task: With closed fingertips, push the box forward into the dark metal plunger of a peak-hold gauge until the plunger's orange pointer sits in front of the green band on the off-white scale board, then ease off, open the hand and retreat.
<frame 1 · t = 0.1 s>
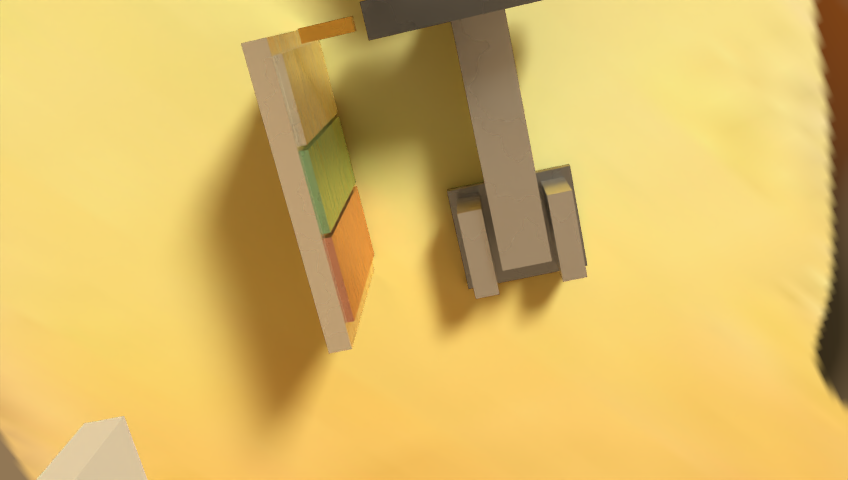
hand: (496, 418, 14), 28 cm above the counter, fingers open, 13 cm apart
plunger: (471, 138, 35), point 5 cm above the counter, slide at 0.0 cm
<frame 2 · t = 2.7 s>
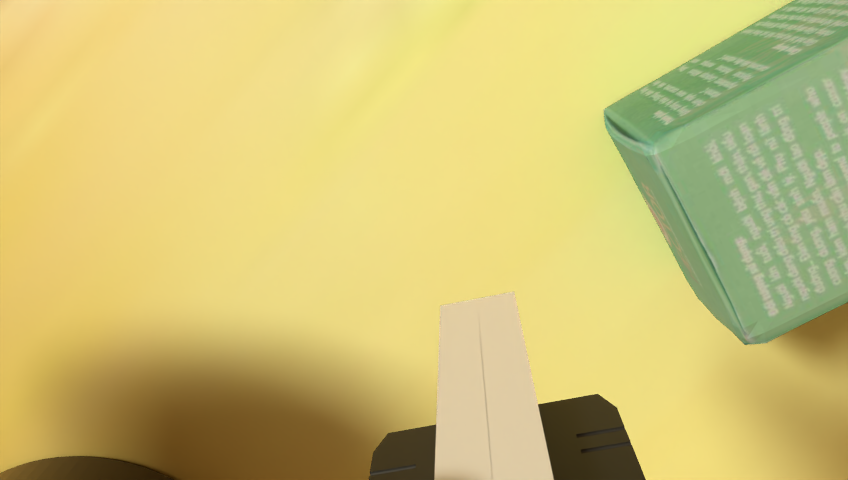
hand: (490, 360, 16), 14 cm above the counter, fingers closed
box: (801, 104, 29), on the counter
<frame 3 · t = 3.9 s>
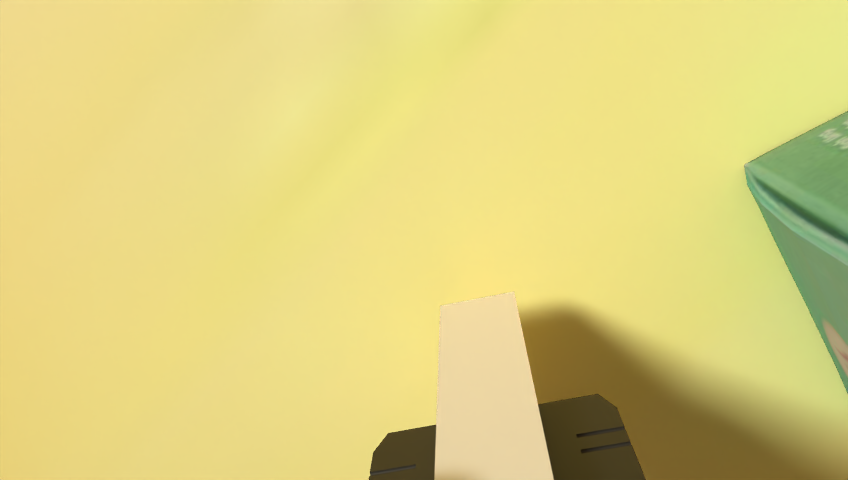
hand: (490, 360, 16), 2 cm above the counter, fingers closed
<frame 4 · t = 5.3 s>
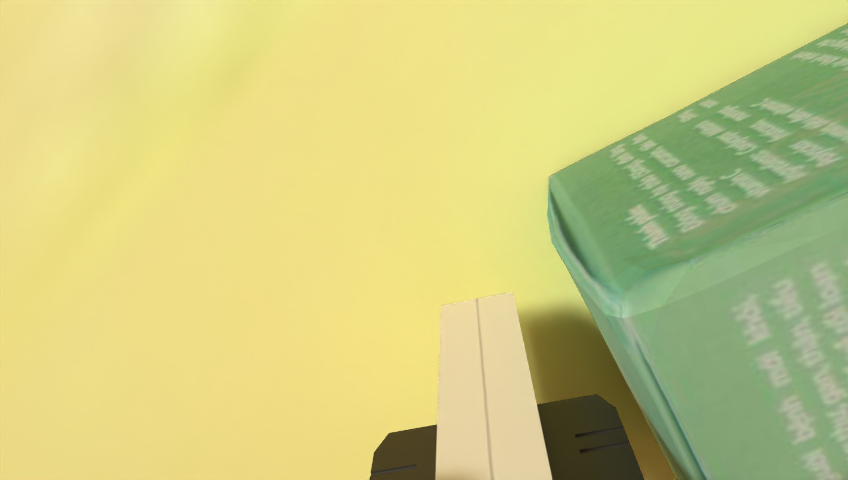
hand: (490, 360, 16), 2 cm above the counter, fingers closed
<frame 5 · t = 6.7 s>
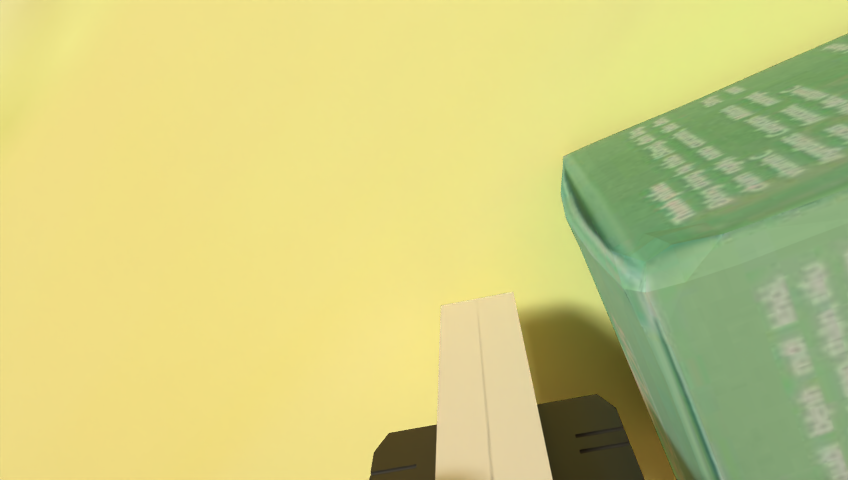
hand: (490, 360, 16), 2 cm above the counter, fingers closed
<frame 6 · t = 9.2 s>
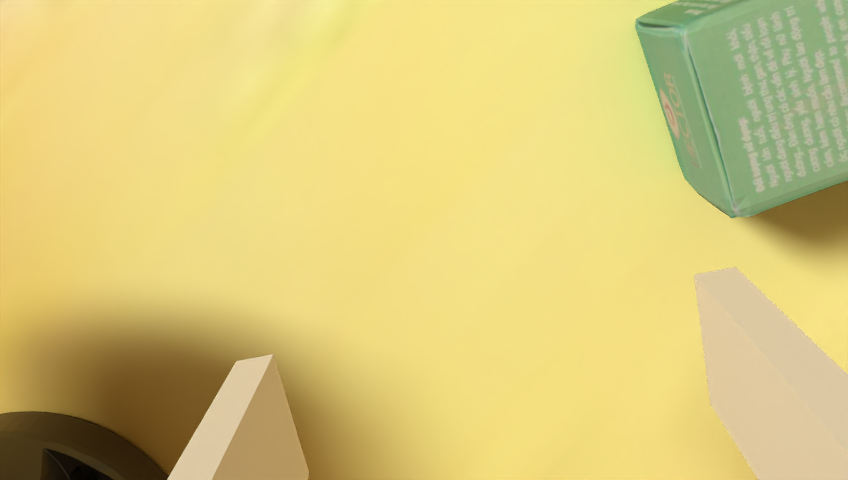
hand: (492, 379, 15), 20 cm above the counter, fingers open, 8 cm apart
box: (804, 41, 33), on the counter
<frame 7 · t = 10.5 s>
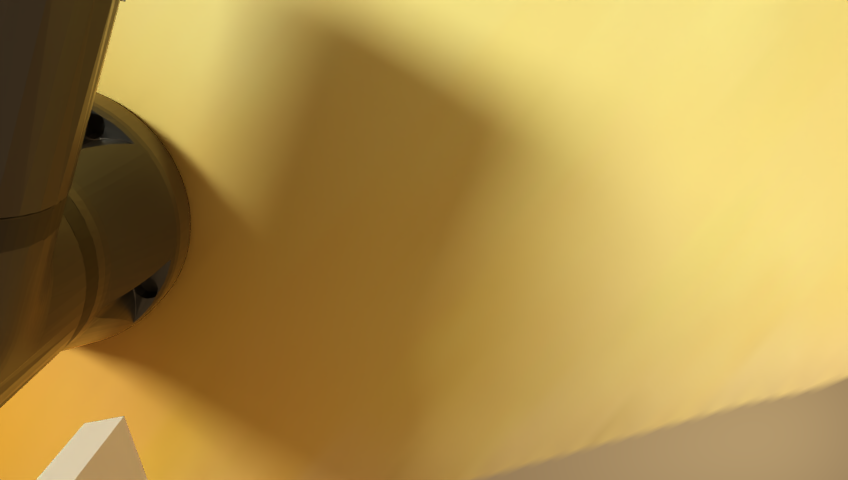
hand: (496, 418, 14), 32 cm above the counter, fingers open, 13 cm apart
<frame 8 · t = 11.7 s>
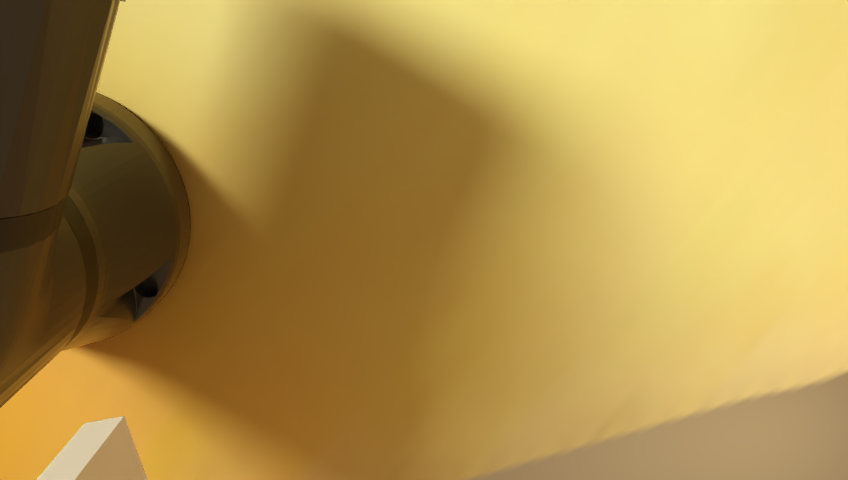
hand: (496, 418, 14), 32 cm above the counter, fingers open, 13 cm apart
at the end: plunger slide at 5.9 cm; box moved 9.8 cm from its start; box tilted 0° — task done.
